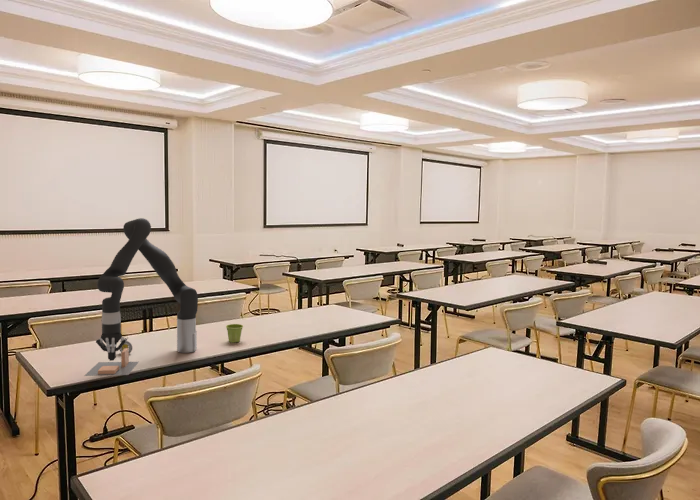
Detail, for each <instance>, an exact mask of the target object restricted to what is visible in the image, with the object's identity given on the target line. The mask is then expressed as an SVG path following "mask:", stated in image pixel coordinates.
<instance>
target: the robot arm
mask: <svg viewBox="0 0 700 500" xmlns="http://www.w3.org/2000/svg"><path fill="white" fill-rule="evenodd" d="M122 229H123V233H124V235H125V236H126V238H127V239H128V241H127V242H126V243H125V244H124V245H123V246H122V247H121V248H120V250H119V251H118V252H117V253H116V255H115V256H114V258H113V260H112V262H111V264H110V266H109V267H108V268H107V269H106V270H105V271H104V272H103V273H102V274H101V276H100V277H99V278H98V280H97V282H96V283H97V284H96V285H97V289H98V290H99V292H101V293H111V295H110V296H109V297H105V298H103V299H102V301H101V311H102V312H101V335H100V337H99V338H97V339H96V340H95V343H96V344H97V345H98V346H99V348H101V350H102V351H103V352H107V358H108V360H109V362H114V360H115V359H117V357H116V356H117V354H116V353H117V352H119V351H120V350H119V349H120V348H121V347H122V346H123V345H124V343H125V342H126V341H128V339H127V337H124V336H123V333H122V325H121V323H122V322H121V321H122V318H121V316H122V315H121V299H122V296H123V295H122V294H123V292H124V289H125V282H124V280H123V278H122V276H124V275H126V273H127V271H128V269H129V267H130V265H131V263H132V261H133V259H134V257H135V256H136V254H137V253H138V251H139V252H140V253H141V255H142V256H143V257H144V258H145V260H146V261H147V262H148V264H149V265H150V266H151V268H152V269H153V270H154V272H155V273H156V274H157V275H158V277H159V278H160V279H161V280H162V281H163V283H164V284H165V285H166V286H167V288H168V289H169V290H170V293H171V294H172V296H173V297H174V300H175V301H176V302H177V303H179V304H180V305H179V311H178V312H177V314H176V351H177V352H178V353H181V354H183V353H184V354H188V353H189V354H190V353H194V352H196V351H197V341H198V340H197V339H198V338H197V332H198V331H197V318H196V317H197V313H198V309H199V307H198V306H199V296H198V295H199V294H198V293H197V290H196V289H195V288H194V287H190V286H188V285H186V283H185V282H184V281H183V280H182V279H181V278H180V276H179V274H178V271H177V267H176V266H175V263H174V262H173V261H172V259H171V257H170V256H169V254H167V253H166V252H165V251H164V250H162V248H159V247H158V246H155V245H154V244H153V243H151V242H150V241H149V239H147V238H148V236H149V235H150V233H151V231H152V226H151V223H150V221H149V220H148V219H146V218H144V217H139V218H136V219H133V220H129V221H127V222H125V223H124V225H123V228H122ZM123 337H124V338H123ZM119 342H120V343H121V344H120V343H119ZM118 343H119V345H118ZM117 345H118V346H117Z"/></svg>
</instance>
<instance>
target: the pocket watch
mask: <svg viewBox="0 0 700 500" xmlns="http://www.w3.org/2000/svg"><path fill="white" fill-rule="evenodd" d="M122 337H123V338H126V339H127V341H126V342H125V343H124V345H123V346H122V347H121V348H120V349H119V350H118V351H120V353H121V352H122V351H123V350H124V349H125V348H129V354H130V353H131V352H132V351H133V344H132V343H131V342H130V341H128V339H129V337H128V336H126V335H124V336H122ZM120 344H121V342H120V343H119V345H120Z"/></svg>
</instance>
